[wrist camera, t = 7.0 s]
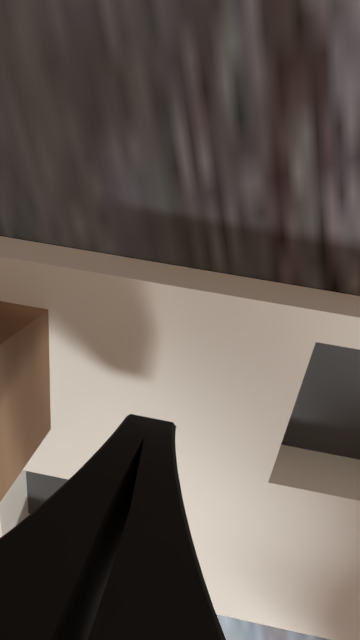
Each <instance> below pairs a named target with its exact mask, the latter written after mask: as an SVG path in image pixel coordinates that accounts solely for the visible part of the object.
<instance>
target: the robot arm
mask: <svg viewBox="0 0 360 640" xmlns="http://www.w3.org/2000/svg"><path fill="white" fill-rule="evenodd" d="M175 432H176V425H175V424H174V423H173V422H169V421H164V420H159V419H154V418H149V417H144V416H139V415H134V414H130V415H128V416H126V417H125V419H124V420H123V421H122V423H121V424H120V425H119V427H118V428H117V429H116V430H115V431H114V433H113V434H112V435H111V436H110V437H109V438H108V440H107V441H106V442H105V443H104V444H103V445H102V446H101V447H100V449H99V450H98V451H97V452H96V453H95V454H94V455H93V456H92V457H91V458H90V459H89V460H88V461H87V462H86V463H85V464H84V465H83V466H82V467H81V468H80V469H79V470H78V471H77V472H76V473H75V474H74V475H73V476H72V477H71V478H70V479H69V480H68V481H67V482H66V483H65V484H64V485H62V486H61V487H60V488H59V489H58V490H57V491H56V492H55V493H54V494H53V495H52V496H51V497H50V498H48V499H47V500H46V501H45V502H44V503H43V504H42V505H40V506H39V507H38V508H37V509H36V510H35V511H33V512H32V513H31V514H30V515H29V516H27V517H26V518H25V519H24V520H22V521H21V522H20V523H19V524H17V525H16V526H15V527H14V528H13V529H11V530H10V531H9V532H7V533H6V534H5V535H3V536H2V537H1V538H0V640H226V639H225V636H224V634H223V631H222V628H221V626H220V623H219V620H218V618H217V615H216V613H215V610H214V607H213V604H212V601H211V598H210V595H209V592H208V589H207V586H206V583H205V580H204V577H203V574H202V571H201V567H200V564H199V561H198V558H197V554H196V551H195V547H194V544H193V540H192V536H191V532H190V528H189V524H188V520H187V516H186V512H185V507H184V502H183V498H182V492H181V487H180V481H179V475H178V468H177V460H176V448H175Z"/></svg>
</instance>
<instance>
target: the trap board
mask: <svg viewBox="0 0 360 640" xmlns="http://www.w3.org/2000/svg"><path fill="white" fill-rule="evenodd" d="M0 301H3V302H9V303H14V304H20V305H25V306H31V307H37V308H42V309H48V316H49V365H50V414H51V430H50V431H49V433H48V434H47V435H46V437H45V438H44V440H43V441H42V443H41V444H40V446H39V447H38V448H37V450H36V451H35V453H34V454H33V456H32V457H31V458H30V460H29V461H28V463H27V464H26V466H25V467H24V469H23V470H22V471H21V473H20V474H19V476H18V477H17V479H16V480H15V482H14V483H13V484H12V486H11V487H10V489H9V490H8V492H7V493H6V495H5V496H4V497H3V499H2V500H1V502H0V538H1V537H2V536H3V535H5V534H6V533H7V532H9V531H10V530H11V529H13V528H14V527H15V526H16V525H17V524H19V523H20V522H21V521H22V520H24V519H25V518H26V517H27V516H29V515H30V514H31V513H32V512H33V511H35V510H36V509H37V508H38V507H39V506H40V505H42V504H43V503H44V502H45V501H46V500H47V499H48V498H50V497H51V496H52V495H53V494H54V493H55V492H56V491H57V490H58V489H59V488H60V487H61V486H62V485H64V484H65V483H66V482H67V481H68V480H69V479H70V478H71V477H72V476H73V475H74V474H75V473H76V472H77V471H78V470H79V469H80V468H81V467H82V466H83V465H84V464H85V463H86V462H87V461H88V460H89V459H90V458H91V457H92V456H93V455H94V454H95V453H96V452H97V451H98V450H99V449H100V447H101V446H102V445H103V444H104V443H105V442H106V441H107V440H108V438H109V437H110V436H111V435H112V434H113V433H114V431H115V430H116V429H117V428H118V427H119V425H120V424H121V423H122V421H123V420H124V419H125V417H126V416H128V415H130V414H134V415H139V416H144V417H149V418H154V419H159V420H164V421H169V422H173V423H174V424H175V425H176V432H175V448H176V460H177V468H178V475H179V481H180V487H181V492H182V498H183V502H184V507H185V512H186V516H187V520H188V524H189V528H190V532H191V536H192V540H193V544H194V547H195V551H196V554H197V558H198V561H199V564H200V567H201V571H202V574H203V577H204V580H205V583H206V586H207V589H208V592H209V595H210V598H211V601H212V604H213V607H214V610H215V613H216V614H218V615H223V616H227V617H232V618H236V619H241V620H245V621H250V622H254V623H259V624H263V625H268V626H272V627H277V628H281V629H286V630H290V631H295V632H299V633H304V634H308V635H312V636H317V637H321V638H326V639H330V640H360V296H356V295H350V294H344V293H338V292H332V291H326V290H320V289H314V288H308V287H302V286H296V285H290V284H284V283H278V282H272V281H266V280H260V279H254V278H248V277H242V276H236V275H230V274H224V273H218V272H212V271H206V270H200V269H194V268H188V267H182V266H176V265H170V264H164V263H158V262H152V261H146V260H140V259H134V258H128V257H122V256H116V255H110V254H104V253H98V252H92V251H86V250H80V249H74V248H68V247H62V246H56V245H50V244H44V243H38V242H33V241H27V240H21V239H15V238H9V237H3V236H0Z"/></svg>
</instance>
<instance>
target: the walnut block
mask: <svg viewBox="0 0 360 640" xmlns="http://www.w3.org/2000/svg"><path fill="white" fill-rule="evenodd" d="M50 430H51V414H50V365H49V316H48V309H42V308H37V307H31V306H25V305H20V304H14V303H9V302H3V301H0V502H1V500H2V499H3V497H4V496H5V495H6V493H7V492H8V490H9V489H10V487H11V486H12V484H13V483H14V482H15V480H16V479H17V477H18V476H19V474H20V473H21V471H22V470H23V469H24V467H25V466H26V464H27V463H28V461H29V460H30V458H31V457H32V456H33V454H34V453H35V451H36V450H37V448H38V447H39V446H40V444H41V443H42V441H43V440H44V438H45V437H46V435H47V434H48V433H49V431H50Z"/></svg>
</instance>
